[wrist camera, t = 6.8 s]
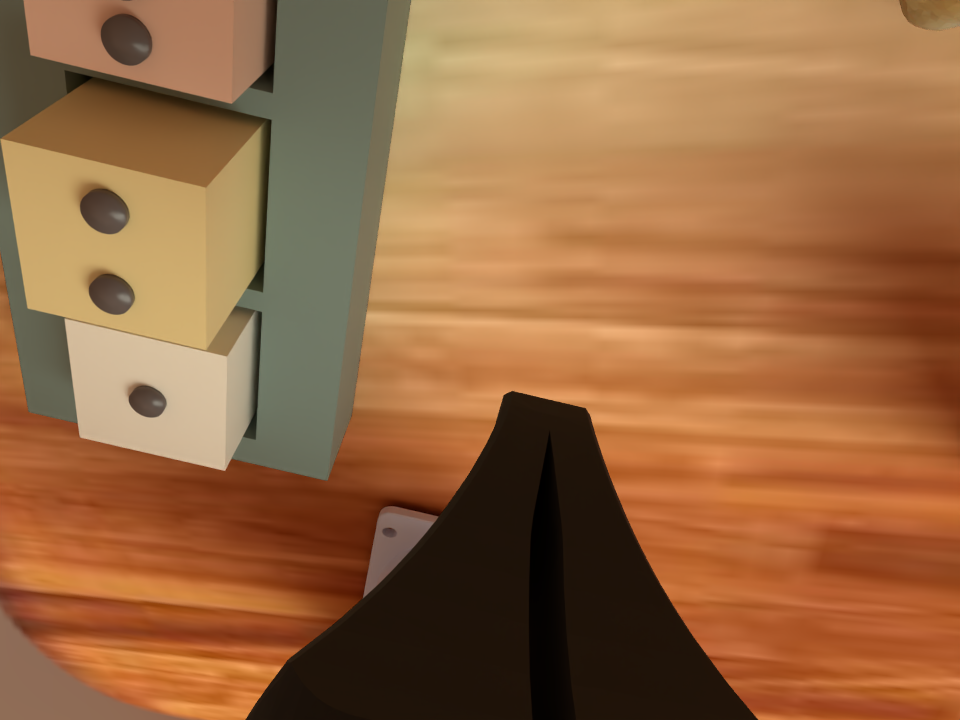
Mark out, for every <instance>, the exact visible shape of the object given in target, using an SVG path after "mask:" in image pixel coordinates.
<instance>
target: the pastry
mask: <svg viewBox="0 0 960 720" xmlns="http://www.w3.org/2000/svg"><path fill="white" fill-rule="evenodd" d="M899 1H900V5H901V8H902V12H903V14H904V16H905V17H906V19H907V20H908V21H909V22H910V23H911V24H913V25H914V26H917V27H920V28H923V29H926V30H935V31H941V30H946V29H950V28H954V27H958V26H960V0H899Z"/></svg>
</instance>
